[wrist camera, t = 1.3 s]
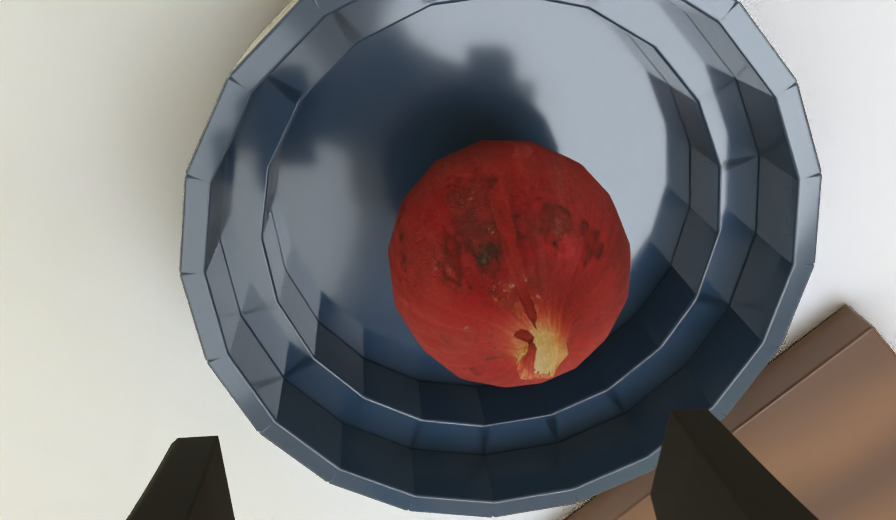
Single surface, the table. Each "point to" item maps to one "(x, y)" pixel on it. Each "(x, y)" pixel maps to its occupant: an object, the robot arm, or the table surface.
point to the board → (809, 427)
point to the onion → (509, 263)
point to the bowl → (451, 129)
